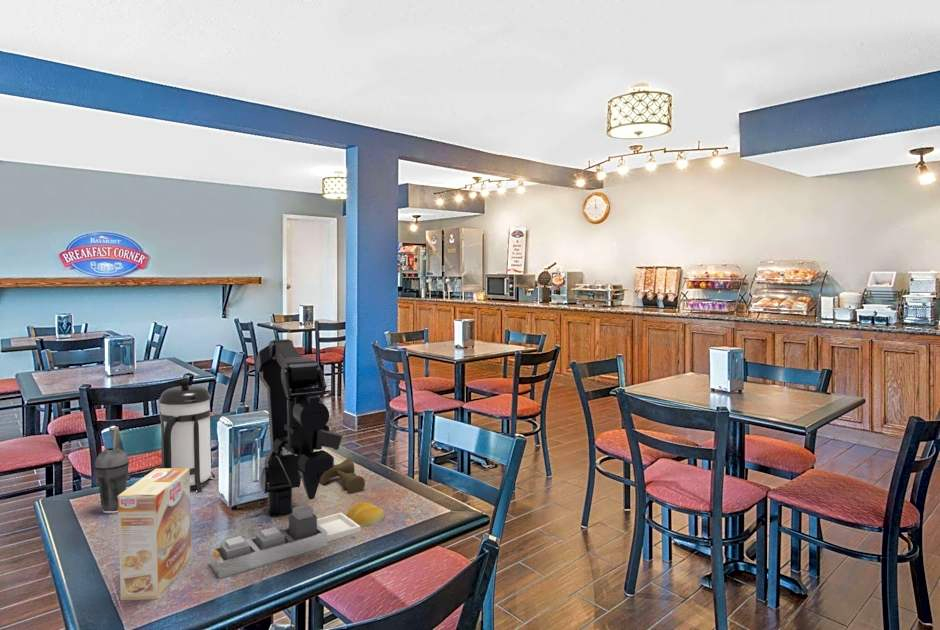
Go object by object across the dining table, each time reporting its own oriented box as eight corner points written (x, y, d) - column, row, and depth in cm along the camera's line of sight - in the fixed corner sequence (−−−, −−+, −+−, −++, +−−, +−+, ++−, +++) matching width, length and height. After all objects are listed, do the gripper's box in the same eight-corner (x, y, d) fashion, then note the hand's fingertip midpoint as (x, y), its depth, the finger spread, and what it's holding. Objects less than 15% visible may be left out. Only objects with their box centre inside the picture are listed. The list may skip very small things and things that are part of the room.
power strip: (209, 566, 115) (209, 546, 115) (313, 536, 129) (313, 518, 129) (219, 581, 110) (219, 560, 109) (327, 547, 123) (327, 529, 123)
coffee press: (144, 486, 158) (141, 378, 156) (204, 472, 170) (202, 371, 168) (166, 504, 146) (163, 387, 144) (229, 488, 158) (227, 379, 156)
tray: (302, 530, 132) (302, 522, 132) (341, 519, 138) (341, 512, 138) (320, 546, 124) (320, 537, 124) (360, 534, 130) (360, 526, 130)
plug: (289, 544, 124) (288, 507, 123) (308, 538, 127) (308, 502, 126) (297, 551, 121) (296, 514, 120) (317, 545, 123) (316, 509, 123)
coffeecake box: (160, 601, 103) (157, 494, 101) (118, 603, 102) (114, 495, 101) (193, 560, 118) (191, 466, 116) (157, 561, 117) (154, 467, 116)
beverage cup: (88, 513, 140) (86, 432, 139) (117, 502, 147) (114, 425, 145) (109, 518, 137) (106, 435, 136) (137, 507, 144) (135, 428, 143)
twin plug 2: (256, 553, 120) (255, 530, 119) (277, 547, 122) (276, 524, 122) (263, 562, 116) (263, 537, 116) (284, 555, 119) (284, 531, 119)
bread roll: (361, 532, 132) (361, 515, 131) (342, 520, 138) (341, 503, 138) (391, 522, 137) (391, 506, 137) (371, 510, 144) (371, 495, 143)
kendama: (339, 500, 151) (311, 477, 167) (373, 493, 157) (342, 471, 173) (340, 478, 151) (311, 456, 166) (373, 472, 156) (342, 451, 172)
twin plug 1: (220, 564, 115) (220, 539, 115) (243, 557, 118) (242, 533, 118) (227, 572, 112) (226, 547, 111) (250, 566, 115) (250, 541, 114)
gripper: (357, 423, 120) (357, 496, 121) (319, 407, 134) (319, 473, 135) (305, 431, 113) (306, 509, 114) (271, 414, 127) (272, 483, 128)
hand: (302, 492), depth 123 cm, fingers open, 9 cm apart
